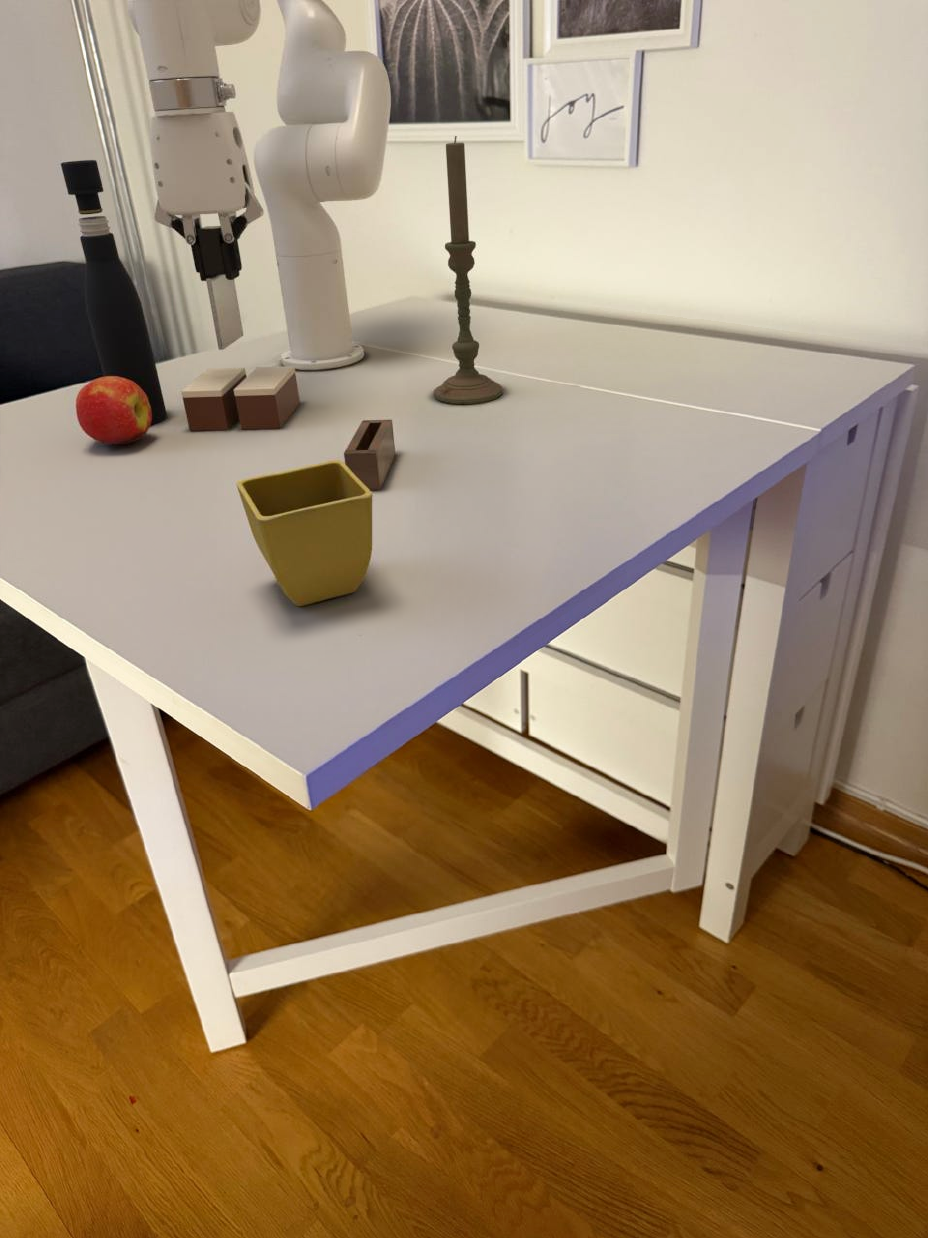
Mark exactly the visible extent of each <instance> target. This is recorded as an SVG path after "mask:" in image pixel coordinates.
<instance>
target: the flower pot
mask: <svg viewBox="0 0 928 1238" xmlns="http://www.w3.org/2000/svg"><path fill="white" fill-rule="evenodd" d="M235 485H236V488H237V491H238V493H239V494H238V495H239V497H240V500H241V504H242V507H243V509H244V512H245V515H246V519H247V521H248V524H249V527H250V531H251V533H252V536H253V538H254V540H255V543H256V545H257V547H258V550H259V552H260V553H261V554H262V556H263V558H264V560H265V561H266V563H267V565H268V566H269V568H270V571H271V572H272V574H273V576H274V577H275V578H274V579H275V580H276V582H277V584H278V585H279V587H280V589H281V590H282V592H283V593H284V595H285V596H286V597H287V598H288V599H289V600H290V601H291V602H292V603H293V604H294V605H295V606H297V607H303V606H307V605H310V604H314V603H318V602H321V601H325V600H329V599H333V598H338V597H340V596H344V595H348V594H352V593H354V592H356V591H357V590H358V589H359V587H360V586H361V584H362V582H363V581H364V578H365V576H366V575H367V572H368V569H369V567H370V563H371V560H372V559H371V558H372V554H373V553H372V552H373V492H372V490H369V489H368V488H367V487H366V486H365V485H364V484H363V483H362V482H361V481H360V480H359V479H358V478H357V477H356V476H355V475H354V473H353V472H352V471H351V470H350V469H349V468H348V467H347V466H346V465H345V462H343V461H341V460H340V459H336V460H329V461H326V462H321V463H317V464H313V465H308V466H307V465H306V466H303V467H299V468H295V469H291V470H286V471H281V472H274V473H269V474H265V475H264V474H263V475H260V476H254V477H250V478H245V479H241V480H237V481H236V483H235Z"/></svg>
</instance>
